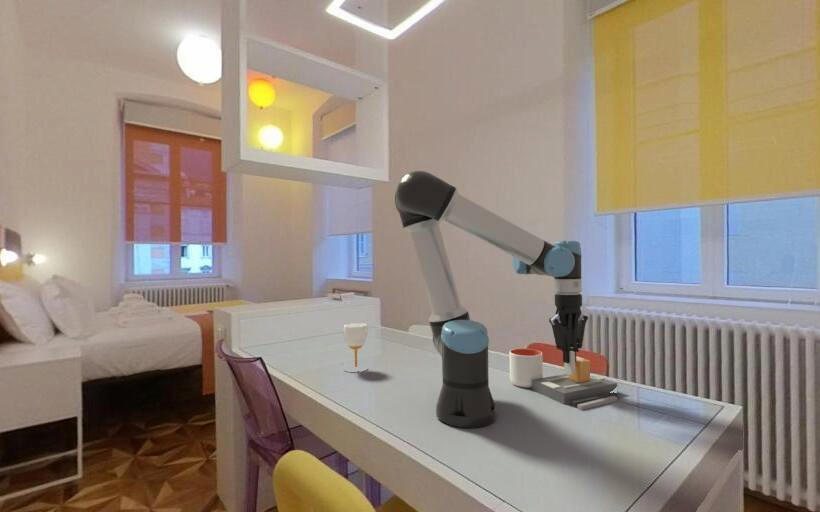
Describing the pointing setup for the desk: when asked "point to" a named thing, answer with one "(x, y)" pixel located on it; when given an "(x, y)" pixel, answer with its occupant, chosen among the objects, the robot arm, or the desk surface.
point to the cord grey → (596, 402)
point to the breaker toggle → (581, 370)
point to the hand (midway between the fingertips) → (569, 373)
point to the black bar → (592, 399)
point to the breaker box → (571, 387)
